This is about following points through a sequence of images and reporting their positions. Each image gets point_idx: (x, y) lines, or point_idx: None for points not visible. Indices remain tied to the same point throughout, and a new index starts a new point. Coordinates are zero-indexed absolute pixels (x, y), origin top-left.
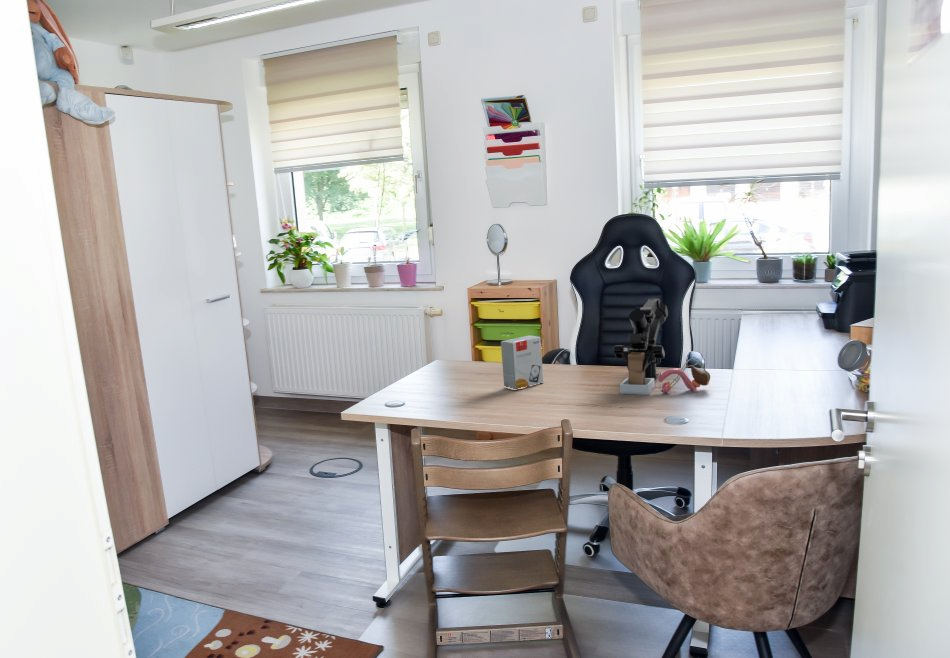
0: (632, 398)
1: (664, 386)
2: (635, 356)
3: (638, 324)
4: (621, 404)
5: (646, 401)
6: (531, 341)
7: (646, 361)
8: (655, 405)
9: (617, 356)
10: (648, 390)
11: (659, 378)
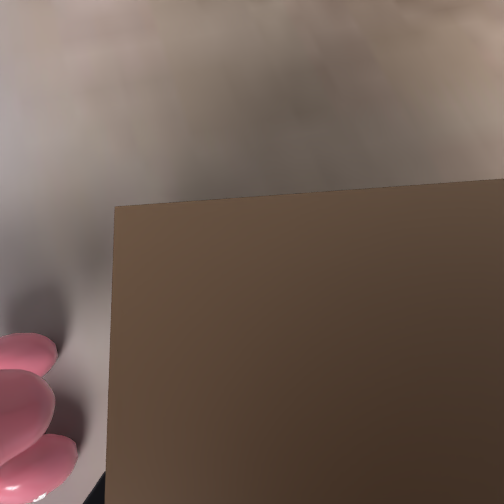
0: (252, 164)
1: (11, 350)
2: (356, 200)
3: None
4: (276, 37)
5: (139, 119)
6: None
7: (100, 487)
8: (65, 56)
9: None
10: None
11: (15, 372)
